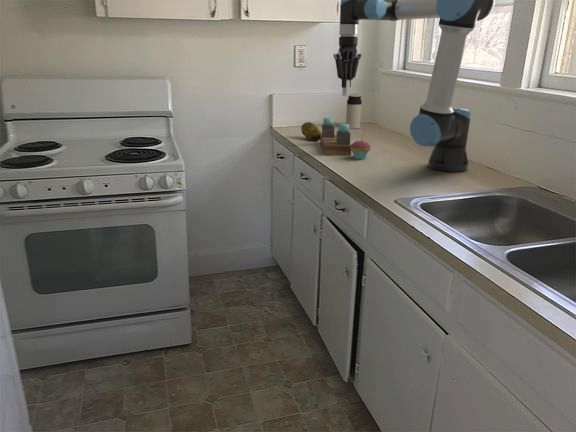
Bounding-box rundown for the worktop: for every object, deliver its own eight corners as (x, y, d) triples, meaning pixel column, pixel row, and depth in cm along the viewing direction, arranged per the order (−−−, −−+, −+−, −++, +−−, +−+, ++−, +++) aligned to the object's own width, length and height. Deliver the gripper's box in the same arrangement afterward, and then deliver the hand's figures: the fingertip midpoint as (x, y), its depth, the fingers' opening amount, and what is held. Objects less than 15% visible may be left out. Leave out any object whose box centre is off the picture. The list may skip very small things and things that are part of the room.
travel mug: (361, 128, 266) (363, 95, 260) (347, 129, 265) (349, 95, 258) (357, 126, 273) (359, 94, 267) (344, 126, 272) (345, 94, 266)
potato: (306, 142, 230) (307, 125, 228) (299, 137, 242) (299, 121, 239) (323, 141, 232) (323, 125, 230) (315, 136, 244) (315, 120, 241)
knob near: (349, 143, 207) (350, 125, 204) (338, 143, 207) (339, 125, 204) (347, 141, 211) (348, 123, 208) (337, 141, 211) (337, 123, 208)
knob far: (333, 136, 222) (334, 119, 219) (323, 136, 222) (324, 119, 219) (332, 134, 226) (332, 117, 223) (322, 134, 226) (323, 117, 223)
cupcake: (354, 154, 207) (356, 127, 203) (373, 157, 203) (375, 128, 199) (346, 158, 200) (347, 130, 196) (365, 161, 196) (367, 132, 192)
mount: (351, 155, 206) (352, 134, 203) (325, 155, 206) (326, 134, 202) (343, 142, 230) (343, 123, 227) (320, 142, 230) (320, 123, 227)
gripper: (355, 36, 200) (352, 94, 208) (330, 35, 194) (327, 95, 202) (367, 36, 194) (363, 95, 202) (341, 35, 188) (338, 97, 196)
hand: (345, 95), depth 202 cm, fingers closed
